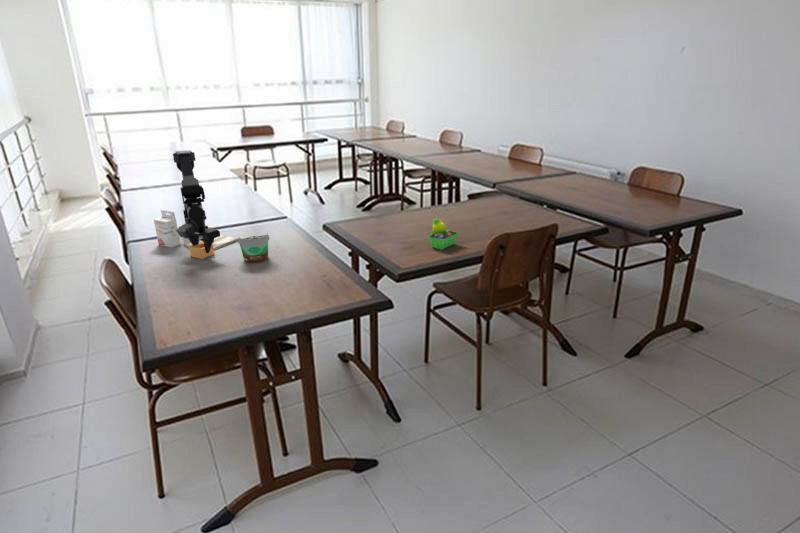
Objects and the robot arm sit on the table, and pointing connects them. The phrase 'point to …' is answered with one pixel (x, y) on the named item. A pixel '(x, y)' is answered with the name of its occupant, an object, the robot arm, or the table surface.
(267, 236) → the food container
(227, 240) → the post board
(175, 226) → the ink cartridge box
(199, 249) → the orange square ring
